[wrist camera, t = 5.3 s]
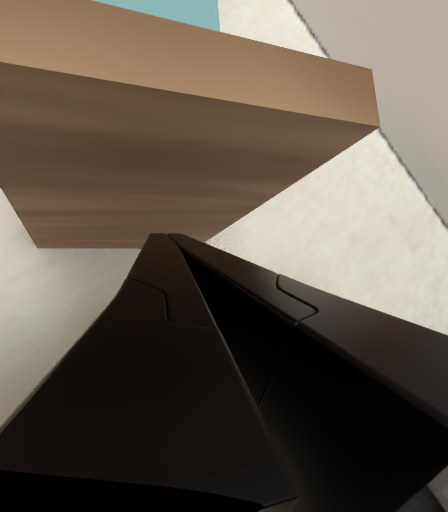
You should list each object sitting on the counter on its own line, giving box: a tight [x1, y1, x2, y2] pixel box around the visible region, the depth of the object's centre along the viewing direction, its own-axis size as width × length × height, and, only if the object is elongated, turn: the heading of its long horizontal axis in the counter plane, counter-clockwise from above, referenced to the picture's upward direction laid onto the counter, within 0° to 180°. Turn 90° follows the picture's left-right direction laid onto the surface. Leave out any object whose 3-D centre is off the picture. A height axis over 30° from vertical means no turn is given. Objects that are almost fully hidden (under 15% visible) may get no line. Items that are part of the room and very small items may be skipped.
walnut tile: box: [0, 0, 380, 248], centre depth 11 cm, size 1×7×12 cm, turn 94°
